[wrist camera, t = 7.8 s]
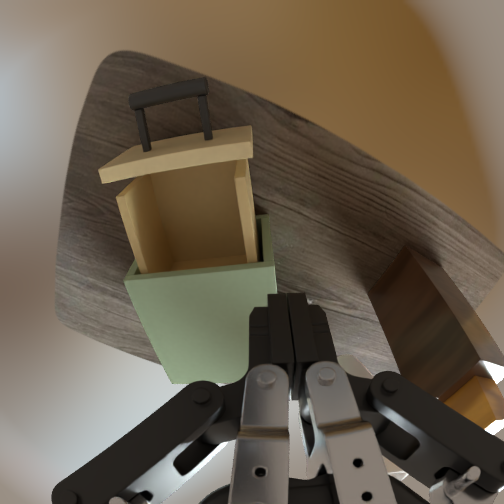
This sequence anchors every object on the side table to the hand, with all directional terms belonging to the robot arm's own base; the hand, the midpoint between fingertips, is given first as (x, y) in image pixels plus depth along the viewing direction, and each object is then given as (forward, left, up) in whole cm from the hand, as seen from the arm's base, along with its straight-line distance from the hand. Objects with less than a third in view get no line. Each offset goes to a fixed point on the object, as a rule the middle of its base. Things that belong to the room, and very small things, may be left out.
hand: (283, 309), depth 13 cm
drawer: (-3, -6, -19) cm, 20 cm away
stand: (+22, +8, -20) cm, 30 cm away
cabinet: (+8, -11, -20) cm, 24 cm away
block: (+22, +8, -2) cm, 23 cm away
